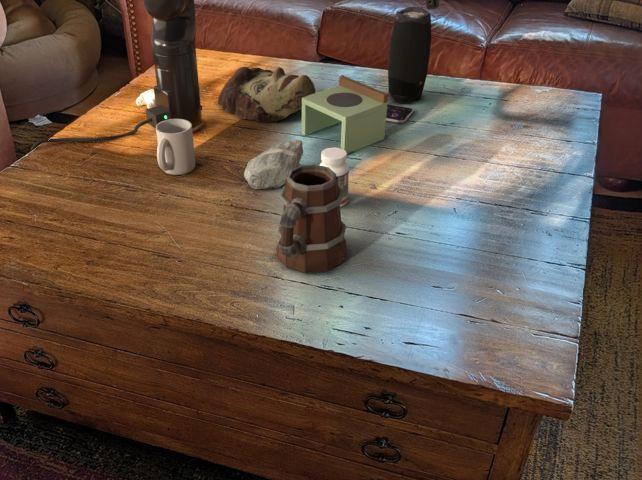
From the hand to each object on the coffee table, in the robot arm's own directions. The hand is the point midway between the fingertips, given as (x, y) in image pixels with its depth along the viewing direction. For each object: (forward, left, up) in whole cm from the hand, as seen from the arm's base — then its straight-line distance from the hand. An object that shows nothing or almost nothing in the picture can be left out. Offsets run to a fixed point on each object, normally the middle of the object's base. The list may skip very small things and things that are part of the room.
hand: (442, 0), depth 138 cm
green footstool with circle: (-11, +14, -29) cm, 34 cm away
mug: (-49, -18, -29) cm, 60 cm away
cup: (-48, +25, -29) cm, 61 cm away
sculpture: (-12, +39, -29) cm, 50 cm away
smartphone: (+4, +18, -29) cm, 34 cm away
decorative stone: (-34, +9, -29) cm, 46 cm away
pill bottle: (-32, -6, -29) cm, 44 cm away
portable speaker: (+15, +20, -29) cm, 38 cm away
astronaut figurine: (-31, +59, -29) cm, 73 cm away
